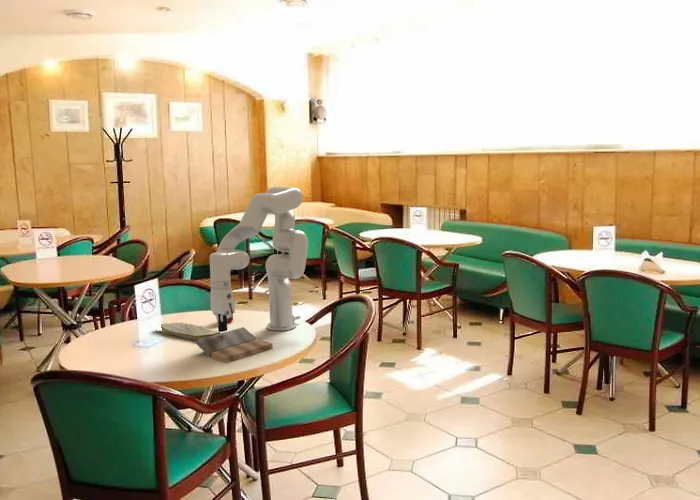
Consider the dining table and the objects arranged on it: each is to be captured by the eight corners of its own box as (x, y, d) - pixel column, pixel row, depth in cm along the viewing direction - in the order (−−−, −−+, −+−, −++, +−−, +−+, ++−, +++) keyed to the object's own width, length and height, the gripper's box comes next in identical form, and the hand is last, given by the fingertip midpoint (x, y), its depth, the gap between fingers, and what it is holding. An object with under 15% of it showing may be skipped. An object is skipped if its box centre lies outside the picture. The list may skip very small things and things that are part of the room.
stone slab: (173, 319, 284) (221, 326, 266) (174, 328, 284) (222, 336, 267) (150, 325, 274) (199, 333, 256) (151, 335, 274) (199, 343, 257)
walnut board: (257, 343, 255) (257, 338, 254) (272, 348, 249) (272, 343, 248) (211, 357, 239) (211, 352, 238) (226, 362, 233) (226, 357, 232)
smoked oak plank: (242, 331, 260) (243, 327, 259) (255, 342, 256) (256, 338, 255) (196, 344, 244) (197, 339, 243) (209, 356, 239) (210, 352, 239)
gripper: (240, 285, 245) (242, 332, 248) (217, 280, 255) (219, 325, 258) (224, 288, 240) (226, 336, 242) (201, 283, 250) (203, 329, 252)
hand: (222, 330), depth 250 cm, fingers closed
